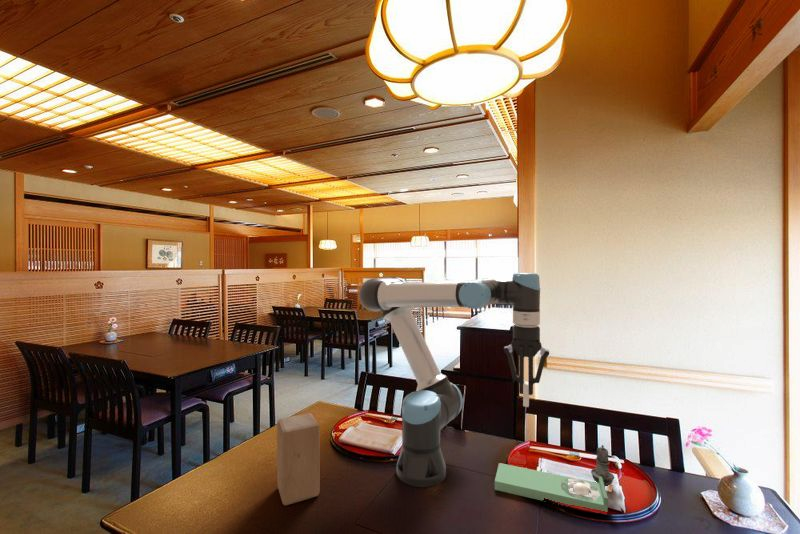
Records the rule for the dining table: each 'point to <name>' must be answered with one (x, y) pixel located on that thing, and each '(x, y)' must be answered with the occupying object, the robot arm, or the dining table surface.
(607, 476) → the dark grey figurine
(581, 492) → the ball
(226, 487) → the dining table surface
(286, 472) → the wooden block
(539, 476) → the green flat block
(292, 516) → the dining table surface
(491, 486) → the dining table surface
